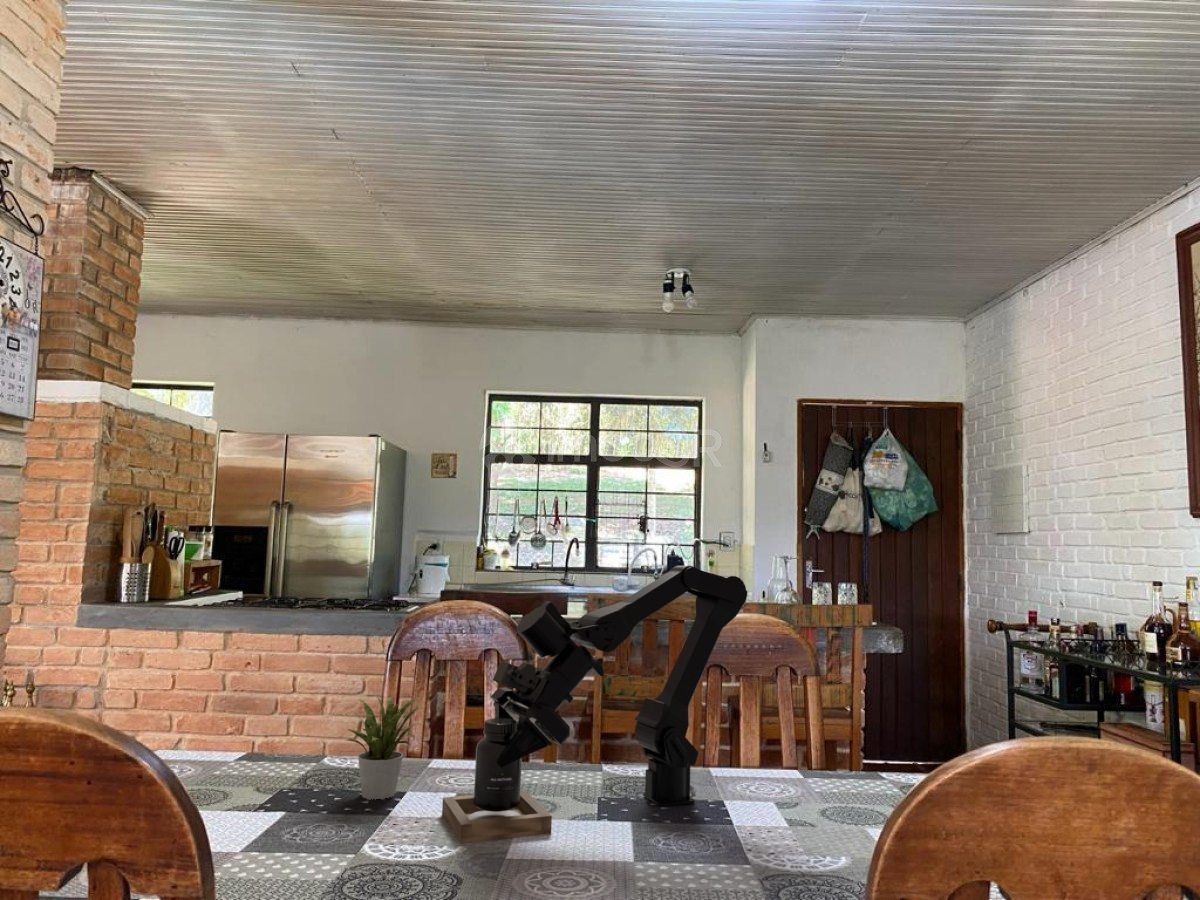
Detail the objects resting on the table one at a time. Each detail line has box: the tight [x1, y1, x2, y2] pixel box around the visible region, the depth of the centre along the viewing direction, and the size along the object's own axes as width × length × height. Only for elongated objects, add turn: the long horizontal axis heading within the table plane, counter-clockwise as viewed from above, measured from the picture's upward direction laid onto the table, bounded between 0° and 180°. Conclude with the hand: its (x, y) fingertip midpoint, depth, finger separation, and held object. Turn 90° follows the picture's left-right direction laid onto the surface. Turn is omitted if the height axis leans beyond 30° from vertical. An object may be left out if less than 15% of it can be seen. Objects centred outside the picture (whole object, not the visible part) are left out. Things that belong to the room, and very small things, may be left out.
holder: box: [441, 790, 553, 844], centre depth 116 cm, size 13×13×2 cm
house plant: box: [344, 692, 430, 801], centre depth 130 cm, size 14×14×16 cm
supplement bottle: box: [473, 717, 523, 812], centre depth 117 cm, size 7×7×12 cm
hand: (490, 759), depth 117 cm, fingers closed on supplement bottle, 7 cm apart
